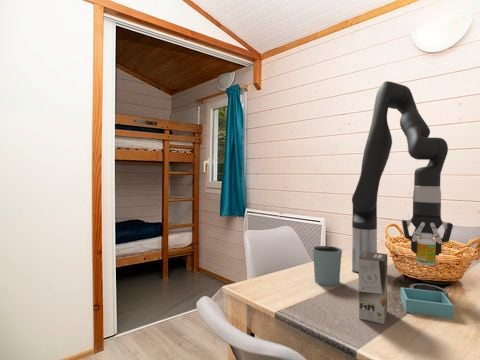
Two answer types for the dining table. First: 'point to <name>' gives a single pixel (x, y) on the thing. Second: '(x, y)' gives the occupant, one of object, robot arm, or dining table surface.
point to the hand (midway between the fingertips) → (425, 253)
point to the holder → (428, 288)
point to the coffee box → (373, 287)
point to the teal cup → (327, 265)
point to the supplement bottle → (426, 249)
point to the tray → (426, 302)
